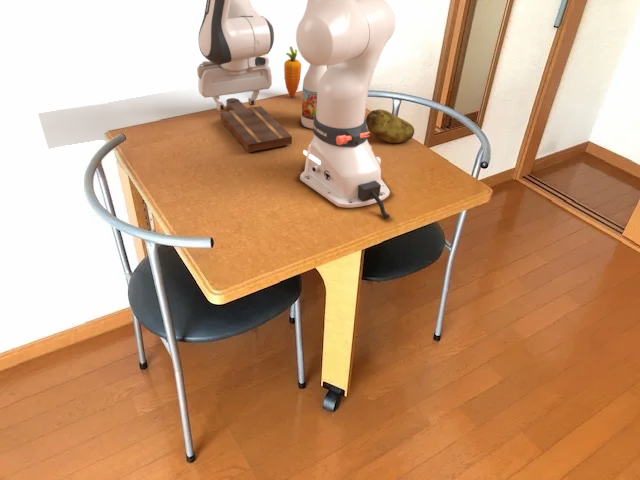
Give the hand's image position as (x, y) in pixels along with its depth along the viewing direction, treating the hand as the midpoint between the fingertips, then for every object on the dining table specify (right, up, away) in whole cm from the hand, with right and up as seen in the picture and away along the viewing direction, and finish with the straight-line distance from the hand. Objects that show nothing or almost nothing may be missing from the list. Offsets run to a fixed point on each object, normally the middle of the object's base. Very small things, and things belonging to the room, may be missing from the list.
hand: (236, 107), depth 154 cm
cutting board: (+4, -7, -4) cm, 9 cm away
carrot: (+15, +6, +14) cm, 21 cm away
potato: (+42, -10, -5) cm, 43 cm away
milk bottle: (+22, -5, 0) cm, 22 cm away
